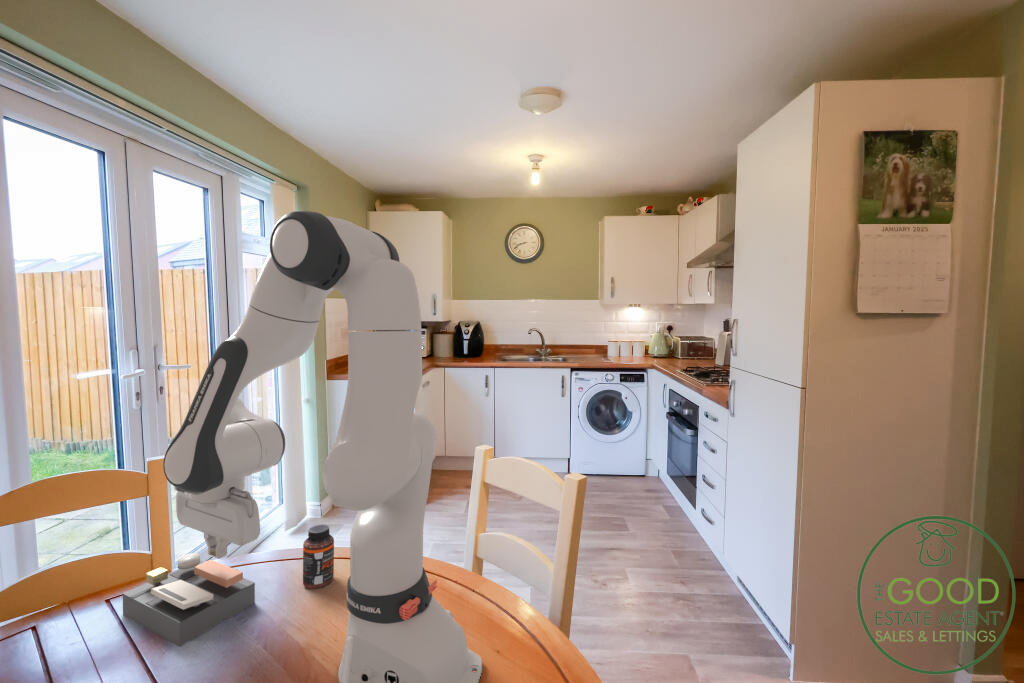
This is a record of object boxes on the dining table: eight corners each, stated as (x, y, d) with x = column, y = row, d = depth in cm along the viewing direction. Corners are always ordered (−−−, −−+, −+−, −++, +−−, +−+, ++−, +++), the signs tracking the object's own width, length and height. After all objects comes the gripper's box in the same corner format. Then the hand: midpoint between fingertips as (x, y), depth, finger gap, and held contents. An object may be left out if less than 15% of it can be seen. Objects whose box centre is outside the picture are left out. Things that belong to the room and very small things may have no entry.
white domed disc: (204, 562, 89) (204, 555, 88) (184, 571, 85) (184, 564, 85) (193, 558, 90) (193, 551, 90) (173, 566, 87) (173, 559, 87)
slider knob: (168, 583, 83) (167, 570, 83) (153, 589, 81) (153, 576, 81) (160, 579, 84) (160, 567, 84) (146, 586, 82) (146, 573, 82)
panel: (255, 603, 84) (255, 582, 84) (179, 646, 73) (179, 622, 73) (199, 578, 92) (198, 559, 92) (122, 614, 81) (122, 592, 80)
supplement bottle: (326, 590, 89) (326, 535, 88) (297, 590, 89) (297, 534, 89) (338, 574, 95) (338, 522, 94) (311, 573, 95) (311, 521, 95)
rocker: (212, 601, 78) (213, 593, 78) (182, 612, 74) (184, 603, 74) (179, 586, 82) (181, 579, 82) (150, 595, 78) (151, 588, 78)
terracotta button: (242, 579, 83) (242, 572, 83) (226, 587, 80) (226, 580, 80) (210, 566, 87) (210, 559, 87) (194, 574, 84) (194, 566, 84)
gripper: (269, 487, 81) (269, 561, 82) (203, 470, 90) (203, 536, 91) (235, 499, 76) (235, 578, 76) (168, 479, 85) (168, 550, 85)
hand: (217, 555), depth 83 cm, fingers closed
